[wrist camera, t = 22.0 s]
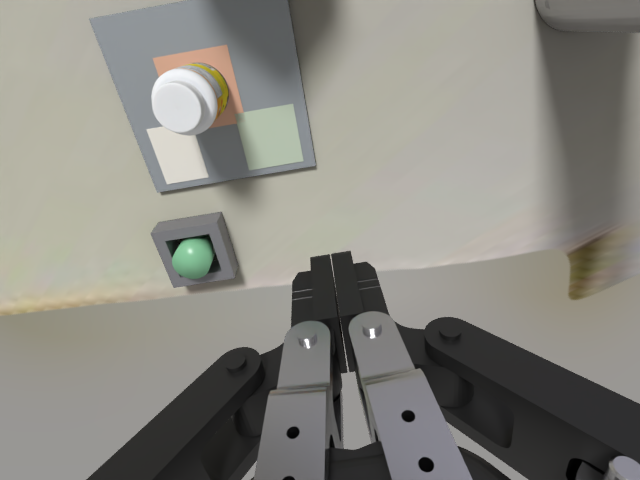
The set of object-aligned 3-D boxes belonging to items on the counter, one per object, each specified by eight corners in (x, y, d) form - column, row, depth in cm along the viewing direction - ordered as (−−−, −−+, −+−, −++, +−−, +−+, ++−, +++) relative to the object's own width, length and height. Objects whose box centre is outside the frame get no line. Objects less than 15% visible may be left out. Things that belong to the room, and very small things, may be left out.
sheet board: (284, -18, 36) (284, -19, 36) (315, 164, 45) (315, 165, 45) (91, 18, 37) (88, 18, 37) (158, 190, 46) (156, 192, 45)
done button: (210, 229, 48) (203, 244, 45) (220, 258, 50) (214, 275, 47) (176, 234, 48) (166, 250, 45) (187, 263, 50) (179, 281, 47)
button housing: (221, 211, 48) (216, 222, 45) (238, 265, 51) (234, 278, 49) (158, 222, 48) (150, 233, 45) (180, 274, 52) (173, 287, 49)
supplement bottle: (197, 127, 42) (170, 154, 33) (165, 78, 39) (125, 93, 30) (241, 102, 41) (224, 123, 32) (210, 50, 38) (183, 57, 29)
